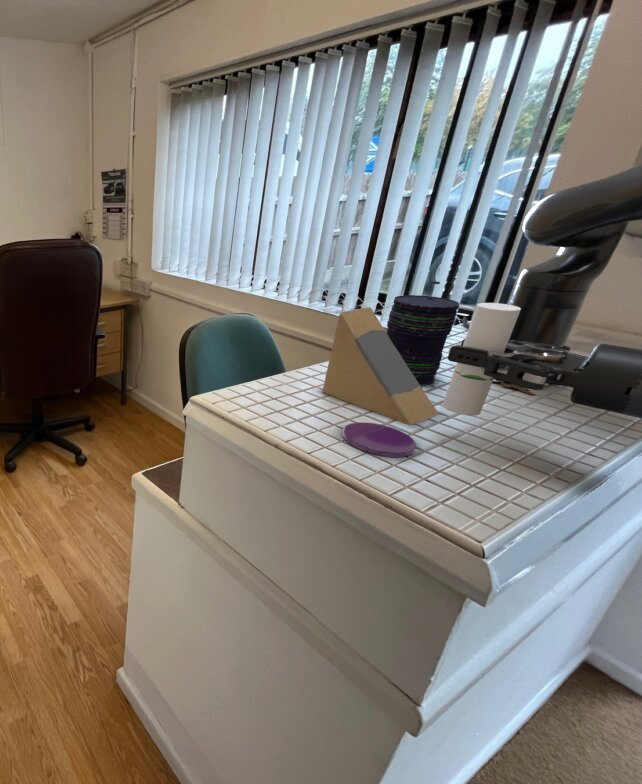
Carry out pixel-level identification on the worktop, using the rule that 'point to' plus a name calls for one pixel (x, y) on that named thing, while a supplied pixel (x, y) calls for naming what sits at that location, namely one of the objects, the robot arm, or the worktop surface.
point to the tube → (485, 334)
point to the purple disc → (379, 439)
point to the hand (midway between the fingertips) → (456, 348)
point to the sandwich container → (373, 371)
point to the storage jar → (421, 332)
